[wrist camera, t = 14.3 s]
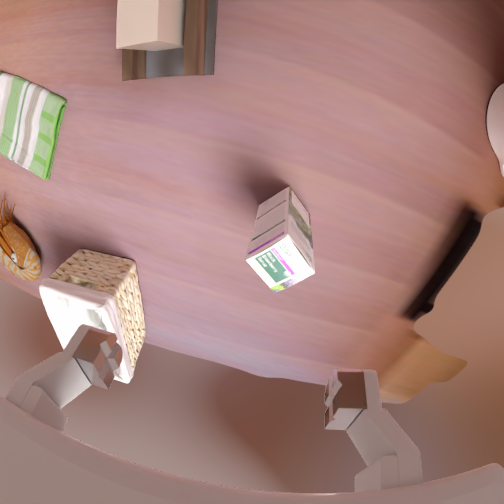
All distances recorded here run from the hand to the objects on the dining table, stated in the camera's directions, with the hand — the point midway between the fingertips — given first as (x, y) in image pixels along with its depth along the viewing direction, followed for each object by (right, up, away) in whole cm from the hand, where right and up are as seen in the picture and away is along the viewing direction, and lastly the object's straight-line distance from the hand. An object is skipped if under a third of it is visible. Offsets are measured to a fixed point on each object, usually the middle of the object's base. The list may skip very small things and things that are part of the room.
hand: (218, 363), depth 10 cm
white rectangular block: (-9, +38, +16) cm, 42 cm away
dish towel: (-43, +29, +30) cm, 60 cm away
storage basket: (-28, -5, +49) cm, 57 cm away
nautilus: (-53, +9, +45) cm, 70 cm away
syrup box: (+6, +10, +34) cm, 36 cm away
